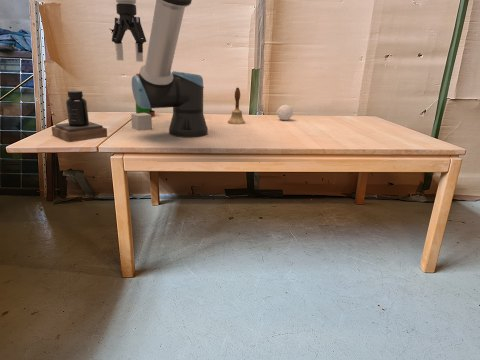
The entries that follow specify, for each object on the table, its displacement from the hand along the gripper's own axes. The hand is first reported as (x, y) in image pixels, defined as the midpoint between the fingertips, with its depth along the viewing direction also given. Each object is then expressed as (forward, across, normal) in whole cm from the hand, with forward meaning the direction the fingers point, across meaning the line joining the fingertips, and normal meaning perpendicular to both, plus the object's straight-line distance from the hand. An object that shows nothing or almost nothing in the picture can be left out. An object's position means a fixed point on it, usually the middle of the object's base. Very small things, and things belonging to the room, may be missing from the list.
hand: (129, 61), depth 151 cm
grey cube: (+26, +10, -3) cm, 28 cm away
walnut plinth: (+26, +6, -28) cm, 38 cm away
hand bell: (+26, +26, +39) cm, 53 cm away
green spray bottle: (+26, -15, +18) cm, 35 cm away
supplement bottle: (+22, +6, -28) cm, 36 cm away
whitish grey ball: (+26, +37, +62) cm, 77 cm away
